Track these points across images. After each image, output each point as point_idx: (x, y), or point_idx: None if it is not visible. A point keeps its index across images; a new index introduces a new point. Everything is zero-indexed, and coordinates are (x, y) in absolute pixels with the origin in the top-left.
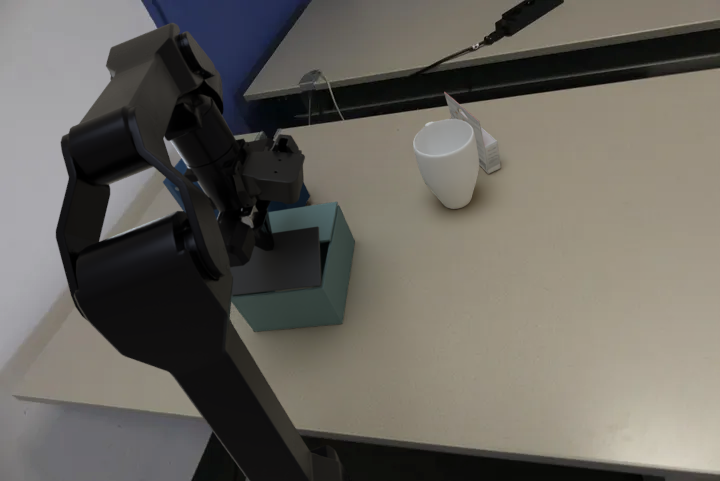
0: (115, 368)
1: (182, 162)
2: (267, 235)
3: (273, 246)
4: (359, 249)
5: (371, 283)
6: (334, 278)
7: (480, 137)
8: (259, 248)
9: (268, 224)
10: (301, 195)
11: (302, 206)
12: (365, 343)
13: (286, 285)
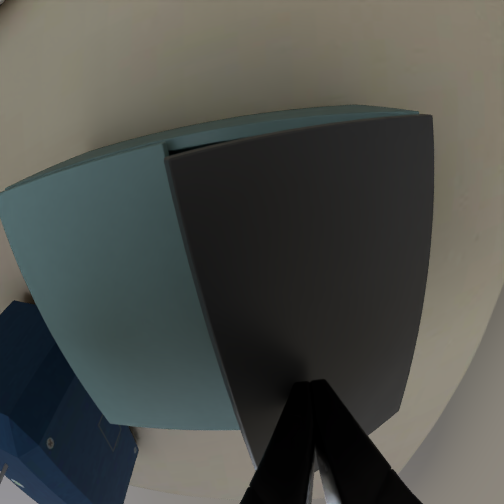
0: (383, 450)
1: None
2: (350, 458)
3: (308, 383)
4: (112, 128)
5: (223, 56)
6: (292, 113)
7: None
8: None
9: (285, 491)
10: (17, 319)
11: (37, 309)
12: (403, 43)
13: (423, 260)
